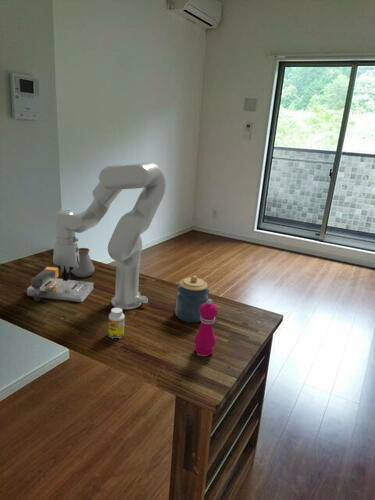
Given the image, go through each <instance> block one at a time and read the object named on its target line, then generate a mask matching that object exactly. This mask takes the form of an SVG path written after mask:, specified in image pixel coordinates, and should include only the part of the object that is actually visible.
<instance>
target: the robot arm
mask: <svg viewBox="0 0 375 500" xmlns="http://www.w3.org/2000/svg"><path fill="white" fill-rule="evenodd" d="M98 181H99V182H98V183H97V185H96V186H95V188H94V189H93V190H92V194H91V195H92V197H93V198H94V199H93V200H92V202H91V203H90V205H89V206H88V208H86V210H84V211H81V212H79V213H75V212H74V211H72V210H66V209H64V210H63V209H62V210H58V211H57V212H56V213H55V230H56V231H55V232H56V233H55V234H56V235H55V236H56V237H55V238H56V239H55V240H56V241H55V242H54V248H53V258H52V259H53V266H54V268H58V270H60V273H62V276H61V277H62V278H61V279H63V281H68V280H71V270H72V269H77V268H79V266H78V263H79V250H78V248H79V246H78V242H79V238H77V237H76V233H77V234H78V233H79V234H80V233H84V232H86V231H88V230H90V229H92V228H94V227H96V225H98V224H99V222H100V221H101V220H102V219H103V218H104V217H105V215H106V214H107V213H108V211H109V208H110V206H111V205H112V203H113V202H114V201H115V199H116V198H117V197H118V196H119V194H121V192H122V191H123V190H135V189H142V191H141V192H140V194H139V195H138V197H137V199H136V202H135V204H134V206H133V207H132V209H131V210H130V211H128V212H127V213H125V214H123V215H122V216H121V217H120V219H119V220H118V222H117V224H116V226H115V227H114V230H113V233H112V234H111V237H110V239H109V241H108V243H107V253H108V255H109V257H110V258H111V259H112V260H114V261H115V262H116V264H115V292H114V293H115V294H114V297H112V298H111V305H112V306H113V308H121V309H122V310H134V309H136V308H139V307H140V306H141V304H142V303H144V304H148V303H149V298H147V296H146V295H145V296H144V295H141V292H140V291H139V285H140V284H139V281H140V279H139V278H140V265H141V263H140V262H141V255H142V248H143V240H142V237H141V235H142V234H144V233H145V232H146V231H147V230H149V228H150V225H151V223H152V221H153V220H154V217H155V215H156V212H157V211H158V209H159V206H160V204H161V202H162V200H163V198H164V195H165V192H166V188H167V183H166V177H165V174H164V172H163V170H162V168H160V166H158V164H156V163H153V162H141V163H135V164H128V165H127V164H125V165H121V164H113V165H107V166H105V167H103V169H101V171H100V172H99V175H98Z"/></svg>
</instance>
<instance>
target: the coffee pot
mask: <svg viewBox="0 0 375 500" xmlns="http://www.w3.org/2000/svg"><path fill="white" fill-rule="evenodd" d="M78 250H79V263H78V266H79V268H77V269H72V270H71V271H70V273H72V274H73V275H74V276H75V277H77V278H87V277H88V278H89V277H90V276H91V275H92V274H93V273H95V269H96V268H95V266H94V264H93V262H92V259H91V257H90V254H89V252H90V249H89V247H88V248H87V247H80V248H79V247H78Z"/></svg>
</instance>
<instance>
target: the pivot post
mask: <svg viewBox="0 0 375 500" xmlns="http://www.w3.org/2000/svg"><path fill="white" fill-rule="evenodd" d="M33 299H34V300H33V301H35V302H40V301H41V297H40V287H38V288H34V296H33Z"/></svg>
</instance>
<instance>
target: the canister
mask: <svg viewBox="0 0 375 500" xmlns="http://www.w3.org/2000/svg"><path fill="white" fill-rule="evenodd" d="M208 285H209V284H208V283H207V282H206V281H204V280H203V279H201V278H200V277H197V275H192V276H189V277H185V278H184V279H182V280H180V281H179V285H178V286H177V287H176V290H177V294H176V305H175V311H174V313H175V316H177V317H178V318H179V319H178V318H177V317H176V318H177V319H178V320H180V319H181V320H180V321H182V320H183V321H182V322H185V321H186V322H185V323H190V322H196V323H200V322H199V321H200V316H201V314H200V307H201V305H202V304H203V303H206V302H207V300H208V299H209V296H208V294H209V293H210V289H209V288H208V287H209V286H208Z"/></svg>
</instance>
